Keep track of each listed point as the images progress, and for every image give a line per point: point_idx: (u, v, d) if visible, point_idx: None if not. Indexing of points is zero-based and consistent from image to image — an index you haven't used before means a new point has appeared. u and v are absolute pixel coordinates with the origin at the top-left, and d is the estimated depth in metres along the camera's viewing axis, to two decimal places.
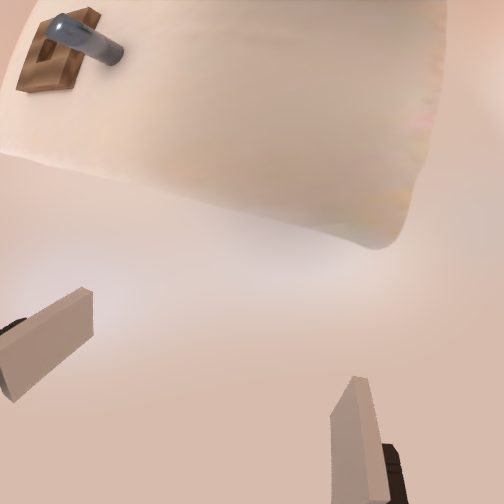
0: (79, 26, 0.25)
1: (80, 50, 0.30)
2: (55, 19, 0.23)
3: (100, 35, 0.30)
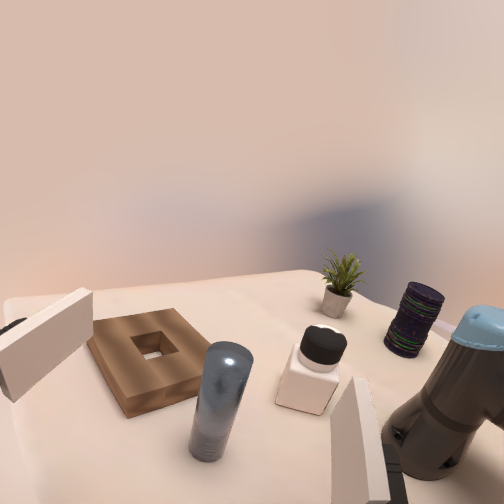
0: (242, 392, 0.24)
1: (202, 413, 0.24)
2: (234, 346, 0.25)
3: None
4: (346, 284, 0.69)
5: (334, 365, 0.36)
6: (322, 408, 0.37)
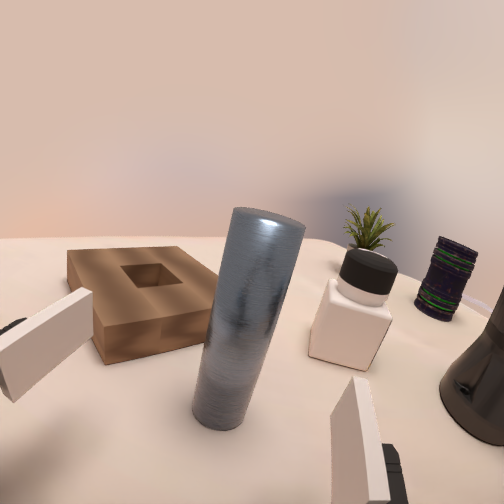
0: (287, 284, 0.16)
1: (218, 331, 0.16)
2: (273, 214, 0.17)
3: None
4: (370, 240, 0.61)
5: (385, 297, 0.28)
6: (369, 360, 0.29)
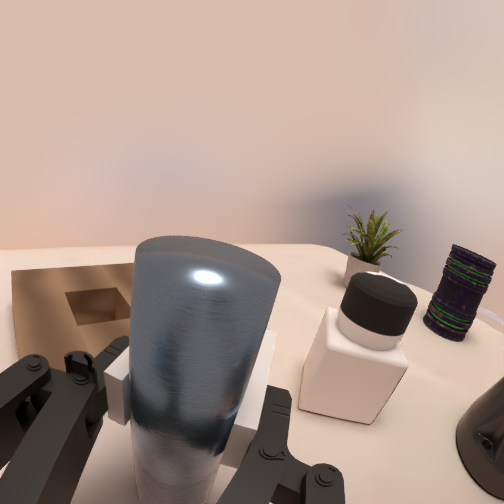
0: (244, 383, 0.08)
1: (139, 437, 0.08)
2: (224, 248, 0.09)
3: None
4: (375, 249, 0.53)
5: (400, 337, 0.20)
6: (375, 412, 0.21)
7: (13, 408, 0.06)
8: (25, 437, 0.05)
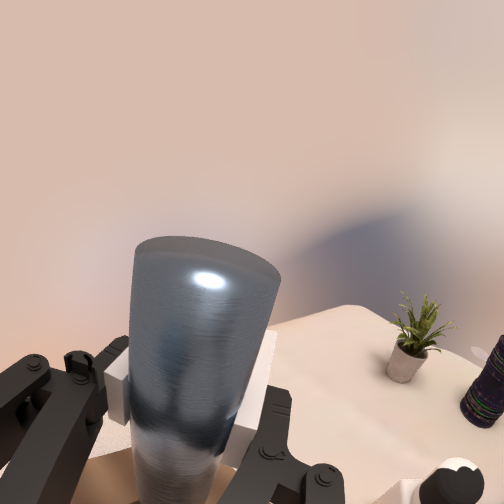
0: (244, 384, 0.08)
1: (139, 437, 0.08)
2: (224, 248, 0.09)
3: None
4: (423, 341, 0.44)
5: None
6: None
7: (13, 408, 0.06)
8: (25, 437, 0.05)
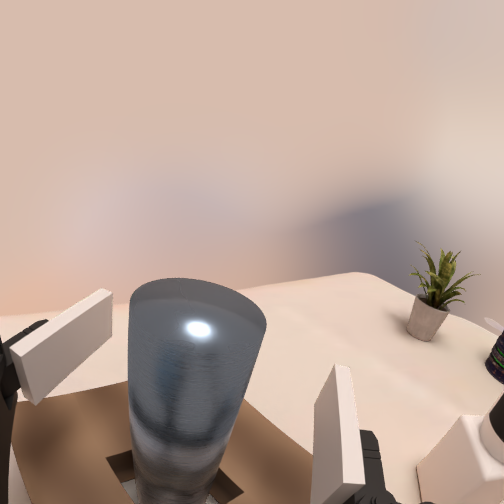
0: (233, 416, 0.08)
1: (139, 457, 0.09)
2: (214, 291, 0.10)
3: (216, 473, 0.10)
4: (445, 293, 0.41)
5: None
6: None
7: None
8: None
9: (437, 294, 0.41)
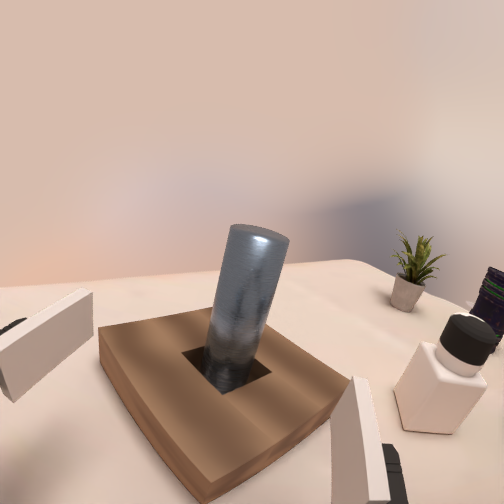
0: (274, 287, 0.20)
1: (219, 326, 0.20)
2: (263, 229, 0.21)
3: (258, 345, 0.22)
4: (420, 271, 0.53)
5: None
6: (458, 424, 0.21)
7: None
8: None
9: (413, 271, 0.52)
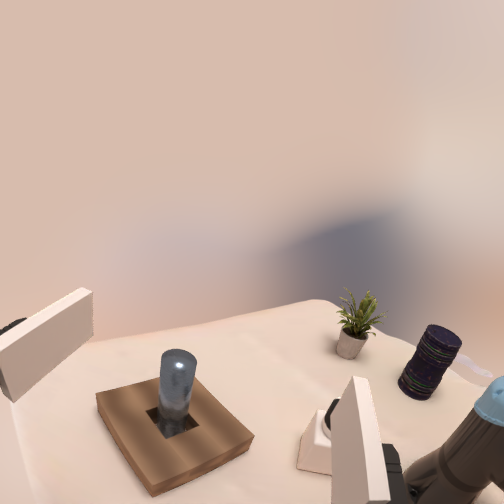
0: (189, 388, 0.31)
1: (161, 404, 0.31)
2: (184, 353, 0.32)
3: (187, 412, 0.33)
4: (363, 326, 0.64)
5: None
6: None
7: None
8: None
9: (355, 327, 0.63)
